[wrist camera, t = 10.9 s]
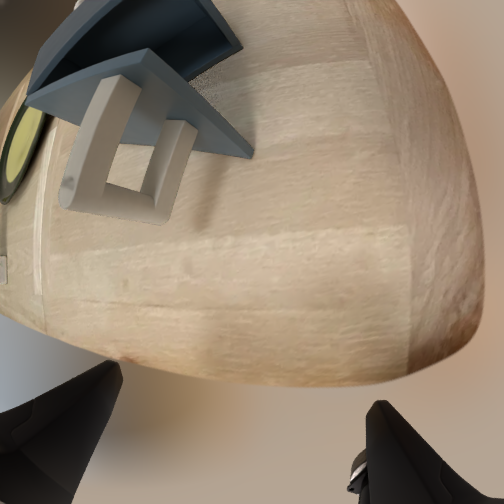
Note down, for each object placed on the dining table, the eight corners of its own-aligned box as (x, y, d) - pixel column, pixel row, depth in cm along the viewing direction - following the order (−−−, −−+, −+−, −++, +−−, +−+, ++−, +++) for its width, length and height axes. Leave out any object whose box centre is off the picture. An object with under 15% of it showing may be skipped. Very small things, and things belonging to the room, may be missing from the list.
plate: (62, 59, 35) (54, 55, 33) (64, 126, 30) (52, 121, 27) (6, 147, 43) (-1, 145, 41) (6, 233, 37) (-4, 232, 35)
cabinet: (243, 48, 20) (174, -45, 8) (120, 136, 25) (25, 95, 13) (214, 14, 21) (156, -54, 10) (112, 89, 26) (39, 49, 14)
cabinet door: (226, 241, 20) (80, 220, 8) (100, 200, 25) (-2, 179, 13) (254, 149, 19) (148, 47, 8) (121, 136, 24) (27, 95, 13)
